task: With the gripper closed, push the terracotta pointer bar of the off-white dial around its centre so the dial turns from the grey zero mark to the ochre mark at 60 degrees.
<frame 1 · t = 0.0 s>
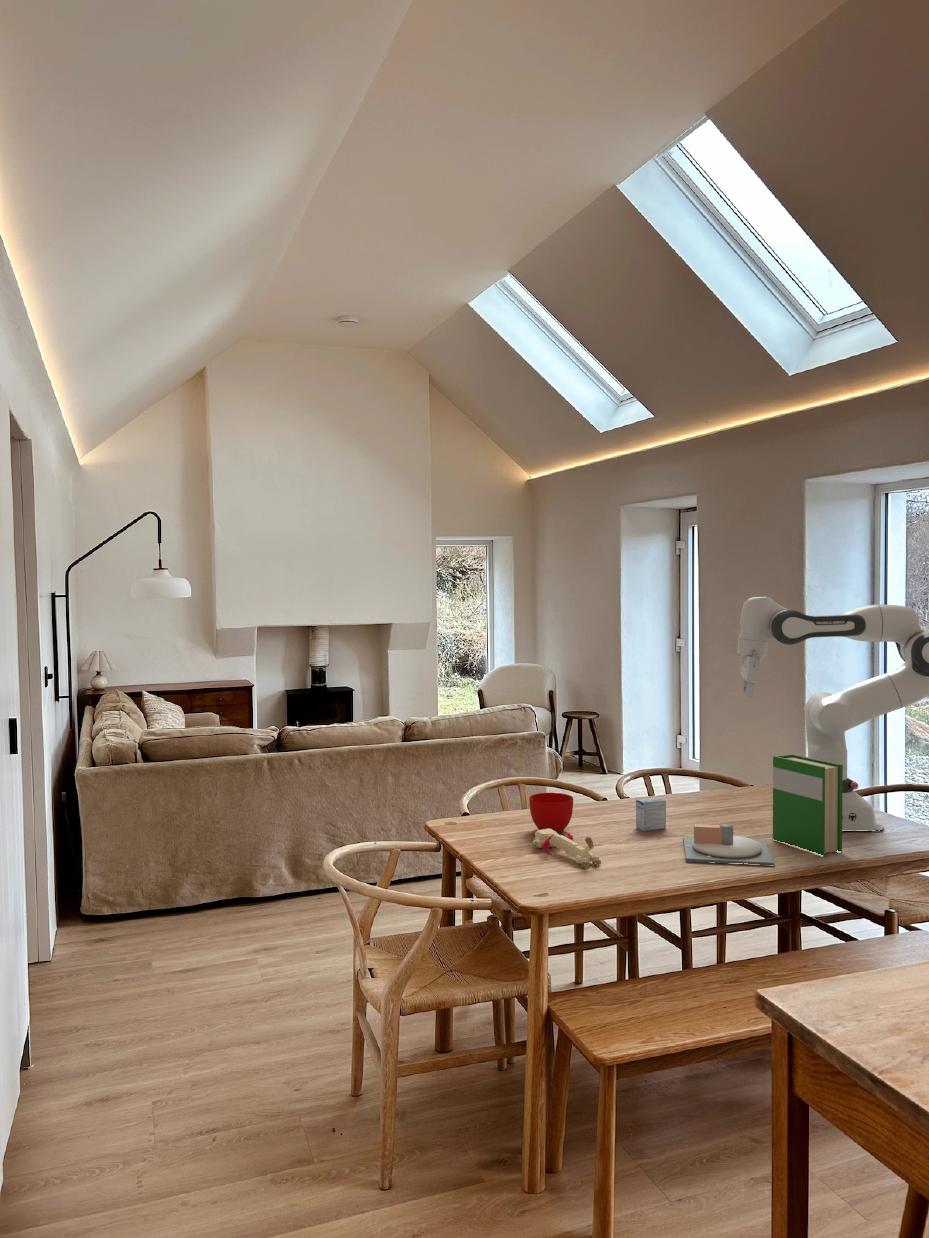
hand: (747, 694, 279), 39 cm above the table, tool pointing down, fingers open, 8 cm apart
medicine box: (650, 829, 272), on the table
ceramic cup: (551, 830, 272), on the table
hardback book: (806, 847, 252), on the table
dial base plate: (726, 852, 248), on the table
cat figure: (563, 856, 246), on the table
dial: (726, 836, 248), point 4 cm above the table, hinge at 0.0°
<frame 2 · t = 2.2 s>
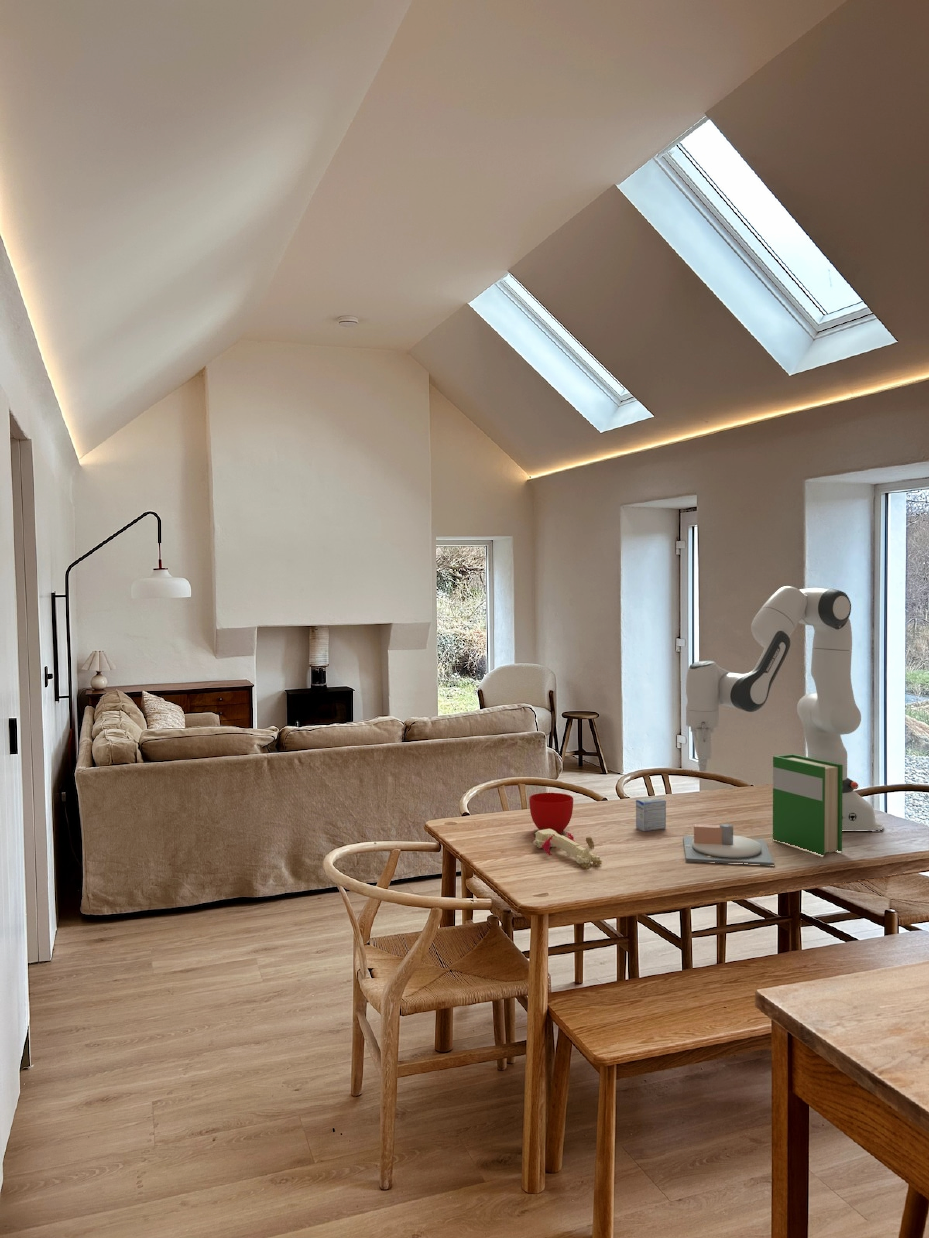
hand: (702, 769, 254), 21 cm above the table, tool pointing down, fingers open, 4 cm apart
nothing on the table moved.
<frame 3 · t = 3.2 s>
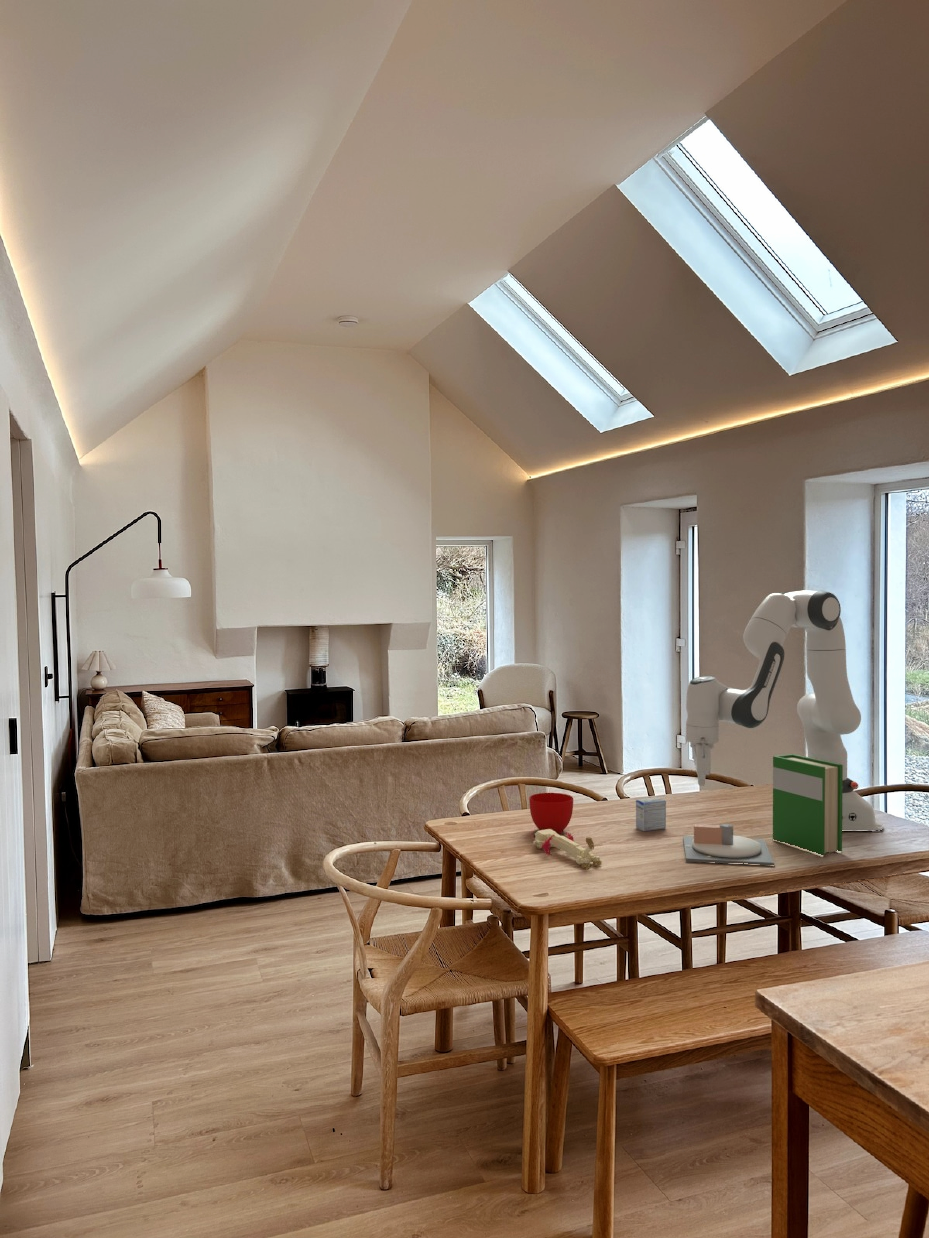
hand: (701, 784, 255), 17 cm above the table, tool pointing down, fingers closed
nothing on the table moved.
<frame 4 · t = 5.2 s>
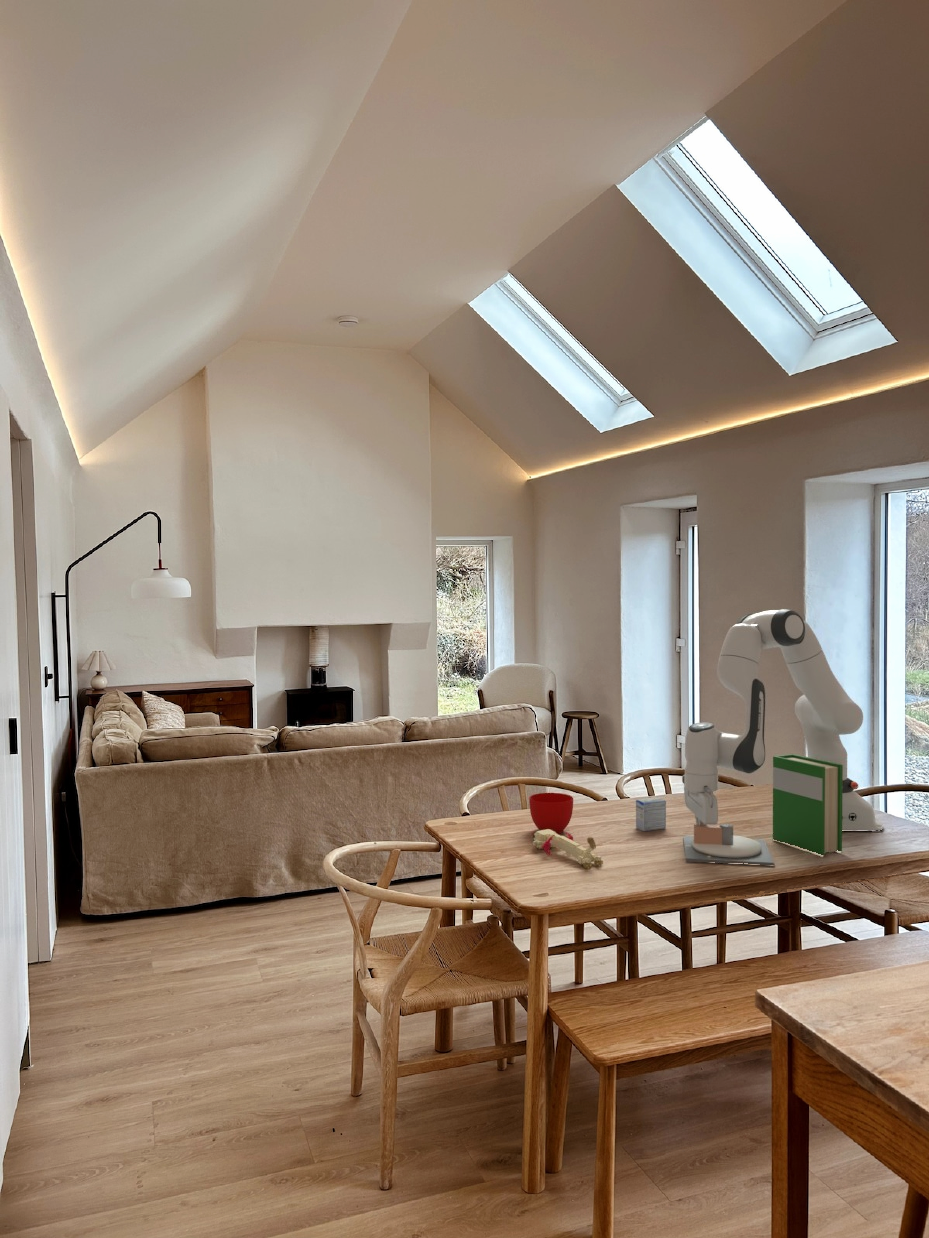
hand: (701, 832, 252), 4 cm above the table, tool pointing down, fingers closed
dial: (726, 836, 248), point 4 cm above the table, hinge at 1.0°, touching gripper
everything else where it was.
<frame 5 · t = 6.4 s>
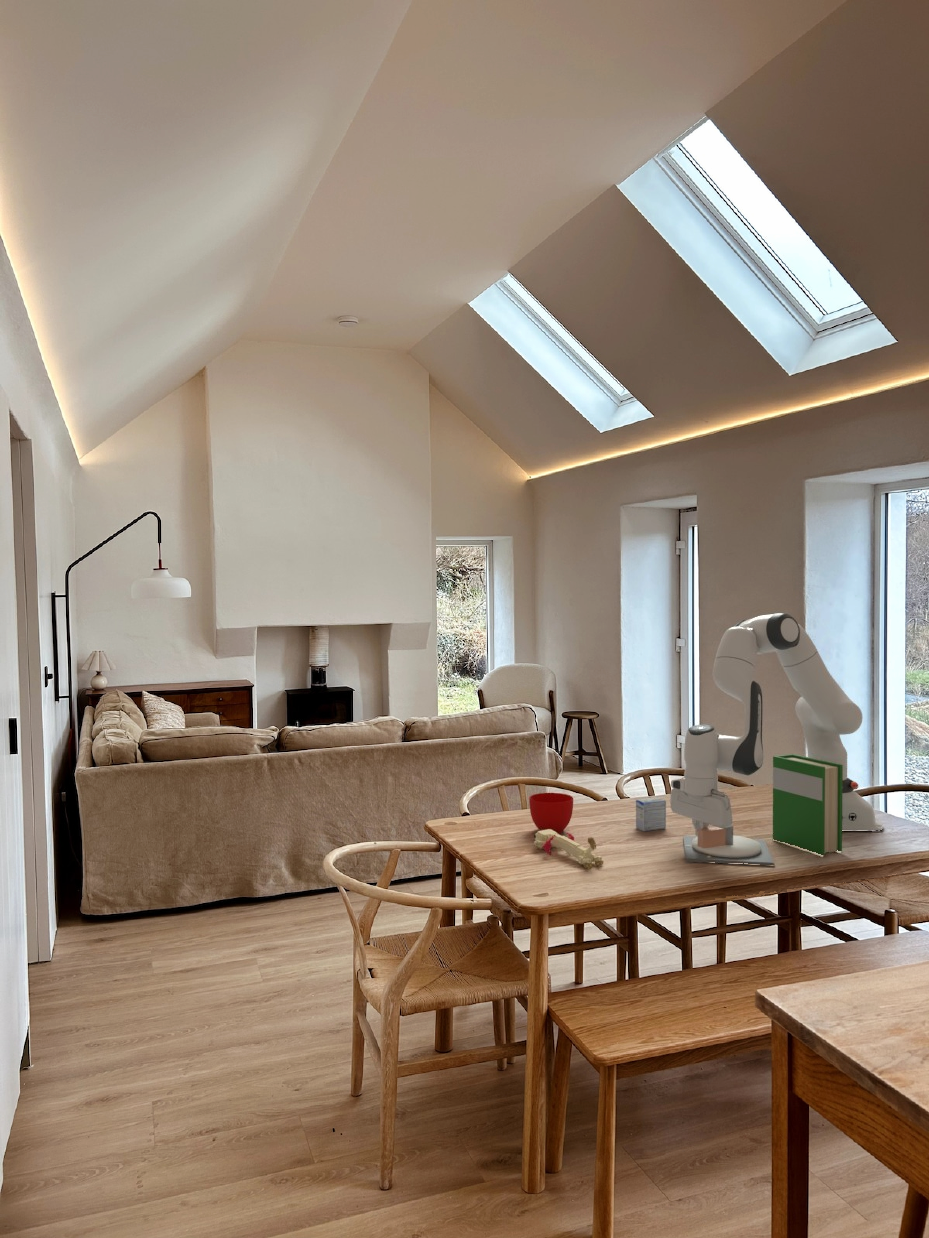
hand: (700, 836, 248), 4 cm above the table, tool pointing down, fingers closed
dial: (726, 836, 248), point 4 cm above the table, hinge at 34.2°, touching gripper
everything else where it was.
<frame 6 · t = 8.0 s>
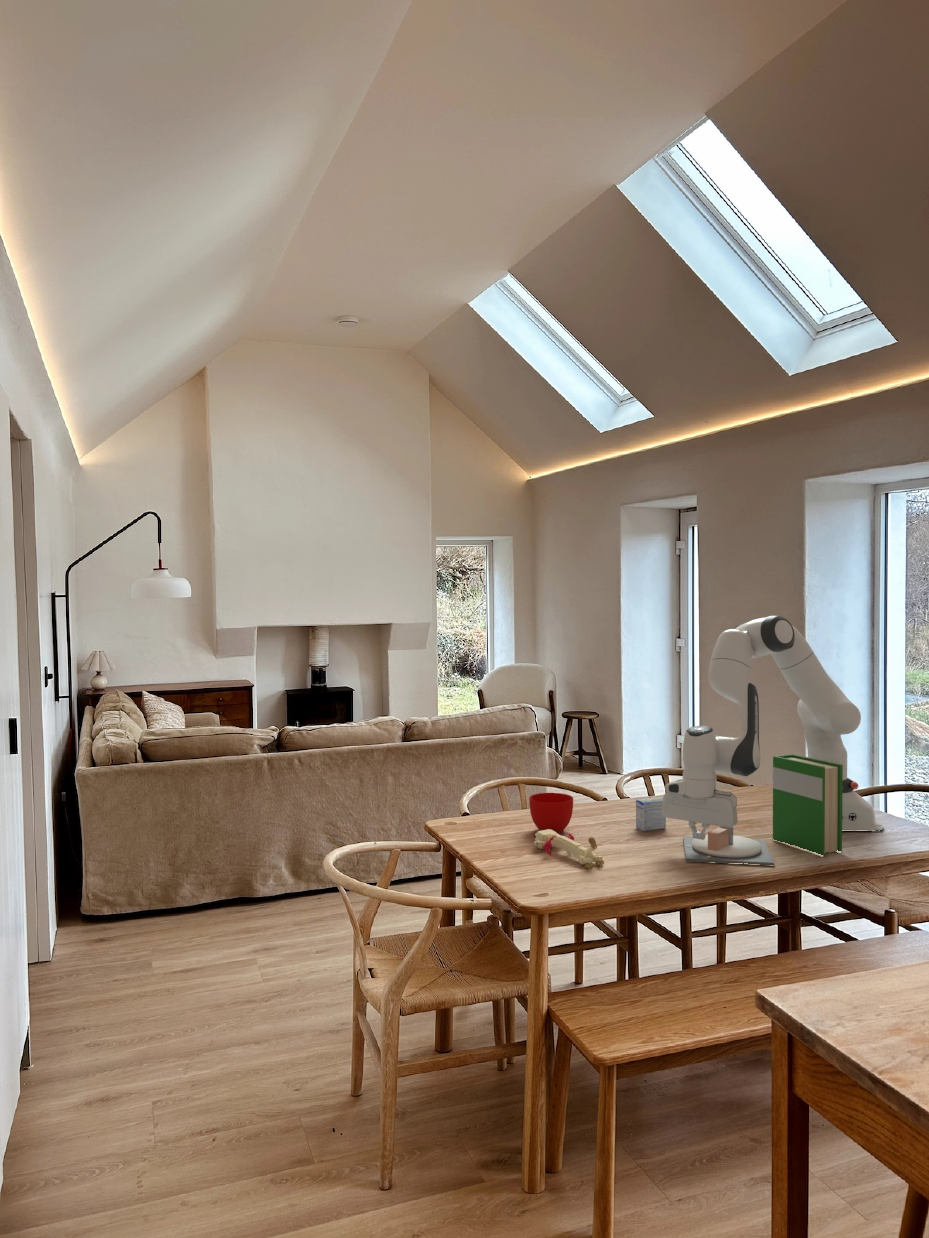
hand: (699, 838, 246), 4 cm above the table, tool pointing down, fingers closed
dial: (726, 836, 248), point 4 cm above the table, hinge at 60.4°
everything else where it was.
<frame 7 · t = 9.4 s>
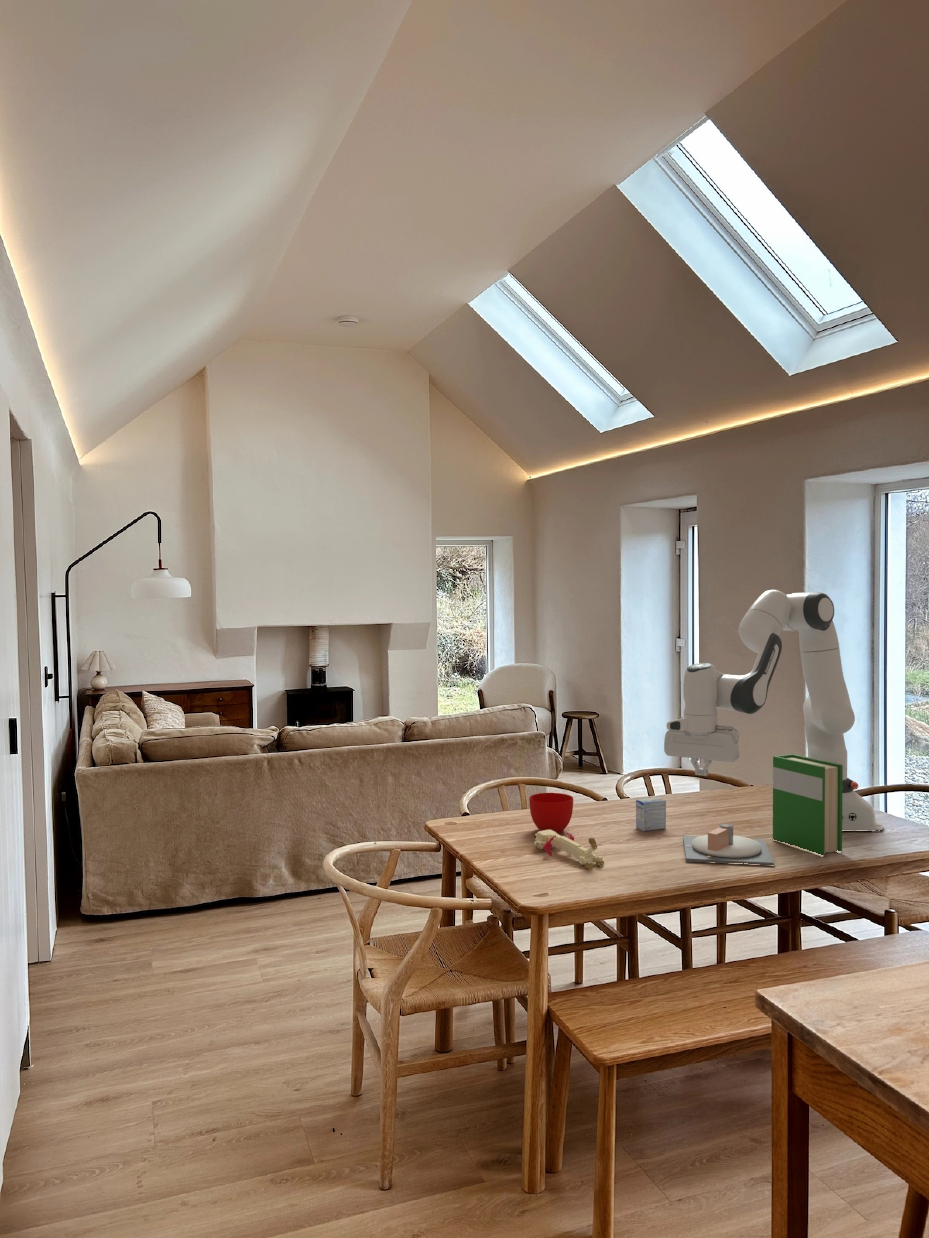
hand: (701, 775, 247), 21 cm above the table, tool pointing down, fingers closed
nothing on the table moved.
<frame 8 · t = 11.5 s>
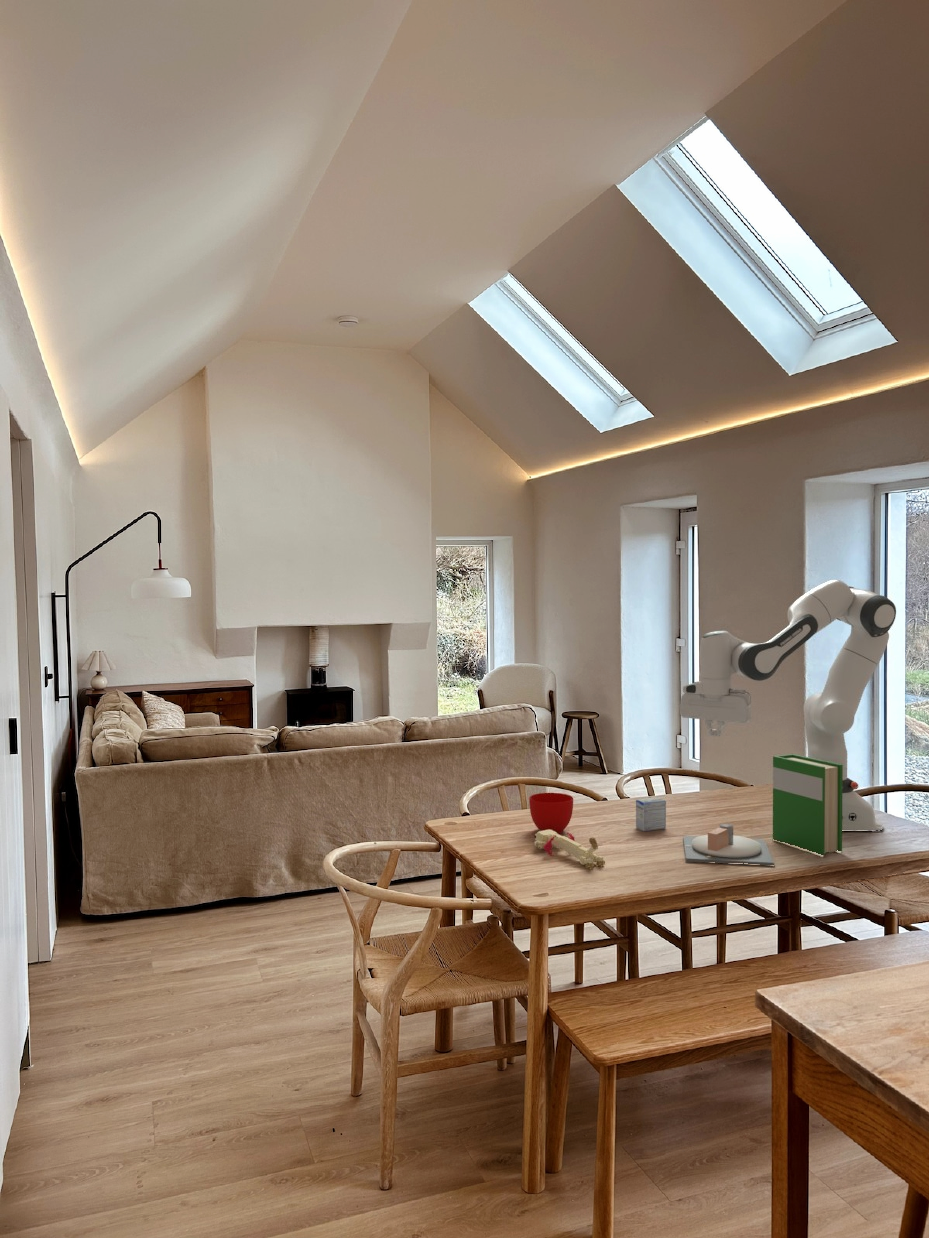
hand: (714, 735, 262), 29 cm above the table, tool pointing down, fingers closed
at the end: dial at +60° (first picture: +0°) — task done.
